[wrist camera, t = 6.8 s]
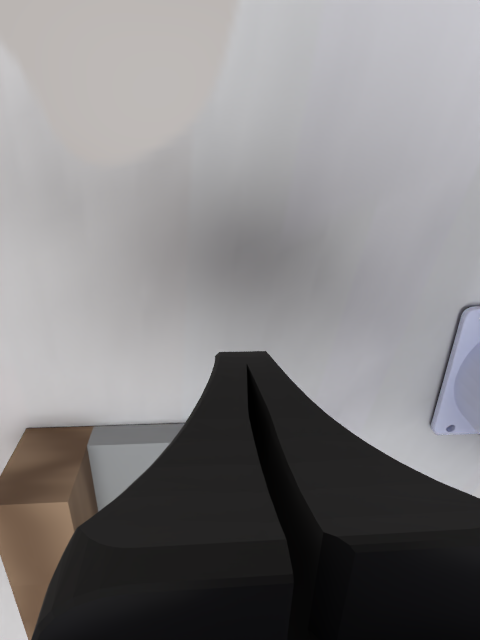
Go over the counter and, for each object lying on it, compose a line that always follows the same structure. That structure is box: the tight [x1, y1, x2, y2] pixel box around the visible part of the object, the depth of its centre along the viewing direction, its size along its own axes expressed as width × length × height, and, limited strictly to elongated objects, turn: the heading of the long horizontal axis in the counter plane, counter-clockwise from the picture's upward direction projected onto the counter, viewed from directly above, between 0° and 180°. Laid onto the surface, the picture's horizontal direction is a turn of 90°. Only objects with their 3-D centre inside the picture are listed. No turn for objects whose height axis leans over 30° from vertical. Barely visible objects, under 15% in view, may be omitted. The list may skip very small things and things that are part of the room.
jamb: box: [0, 426, 98, 640], centre depth 24 cm, size 4×14×5 cm, turn 179°
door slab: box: [87, 423, 185, 512], centre depth 25 cm, size 11×14×3 cm
